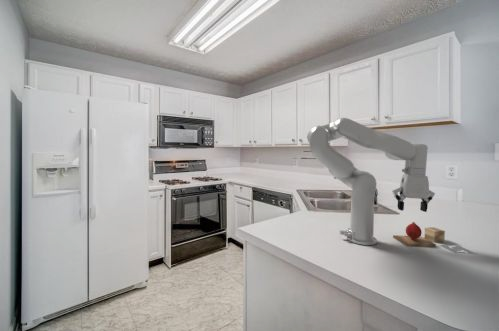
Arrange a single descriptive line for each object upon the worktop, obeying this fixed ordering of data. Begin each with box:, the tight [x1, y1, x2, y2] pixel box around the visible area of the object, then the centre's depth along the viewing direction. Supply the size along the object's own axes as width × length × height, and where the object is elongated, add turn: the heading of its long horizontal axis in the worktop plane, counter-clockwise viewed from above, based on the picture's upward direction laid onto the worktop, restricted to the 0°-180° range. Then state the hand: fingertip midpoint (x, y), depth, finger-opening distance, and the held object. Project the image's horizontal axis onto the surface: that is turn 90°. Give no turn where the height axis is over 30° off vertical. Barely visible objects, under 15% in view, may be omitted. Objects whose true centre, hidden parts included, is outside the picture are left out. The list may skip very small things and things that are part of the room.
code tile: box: [439, 244, 477, 255], centre depth 94 cm, size 8×8×1 cm
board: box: [392, 234, 437, 248], centre depth 102 cm, size 12×10×1 cm
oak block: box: [424, 226, 446, 242], centre depth 104 cm, size 5×5×5 cm
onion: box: [405, 221, 423, 240], centre depth 102 cm, size 6×6×8 cm
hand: (411, 210), depth 101 cm, fingers open, 9 cm apart
